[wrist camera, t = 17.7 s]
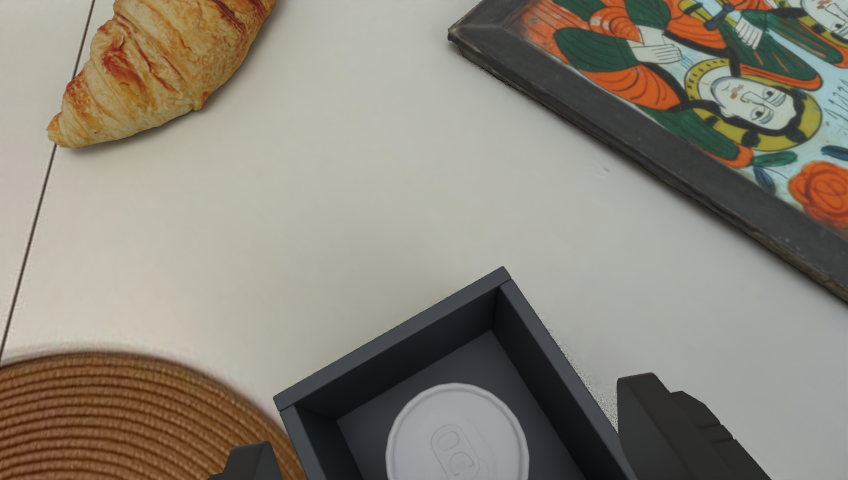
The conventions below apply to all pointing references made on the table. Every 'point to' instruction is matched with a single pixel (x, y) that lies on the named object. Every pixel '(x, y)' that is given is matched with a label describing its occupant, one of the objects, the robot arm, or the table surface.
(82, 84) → the croissant
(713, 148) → the painting
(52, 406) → the table surface
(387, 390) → the bin
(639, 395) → the robot arm
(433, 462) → the beverage can
